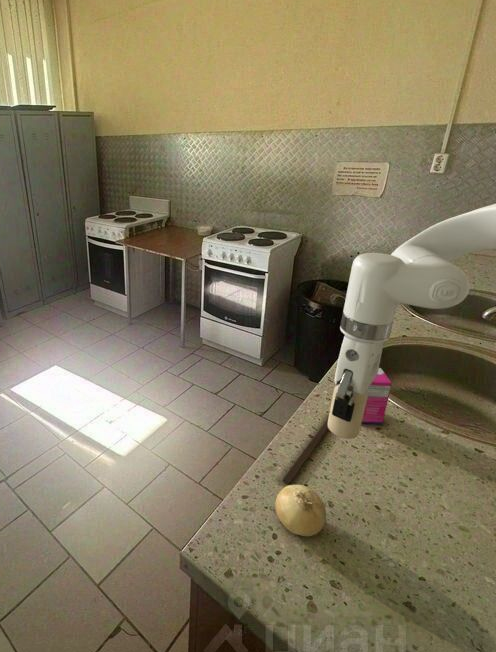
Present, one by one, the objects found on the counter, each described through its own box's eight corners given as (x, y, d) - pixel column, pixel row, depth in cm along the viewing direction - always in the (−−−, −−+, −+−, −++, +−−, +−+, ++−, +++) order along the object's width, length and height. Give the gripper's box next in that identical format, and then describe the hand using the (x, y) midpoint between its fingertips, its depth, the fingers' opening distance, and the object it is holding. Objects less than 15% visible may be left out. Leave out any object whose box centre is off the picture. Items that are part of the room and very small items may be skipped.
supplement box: (346, 406, 94) (354, 366, 90) (372, 408, 94) (382, 367, 89) (354, 423, 89) (364, 381, 85) (383, 425, 88) (394, 383, 84)
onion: (264, 509, 70) (268, 480, 67) (299, 494, 73) (304, 466, 70) (296, 551, 63) (301, 520, 60) (334, 533, 66) (341, 503, 63)
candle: (326, 434, 75) (335, 391, 71) (327, 416, 80) (335, 374, 76) (359, 442, 73) (370, 398, 69) (358, 423, 78) (368, 381, 74)
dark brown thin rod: (334, 420, 90) (335, 417, 90) (288, 484, 75) (289, 482, 74) (329, 417, 91) (329, 415, 91) (282, 481, 75) (282, 479, 75)
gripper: (375, 352, 60) (353, 444, 67) (403, 314, 71) (382, 396, 78) (324, 336, 65) (308, 423, 71) (358, 303, 76) (342, 381, 83)
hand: (347, 408), depth 75 cm, fingers closed on candle, 5 cm apart
